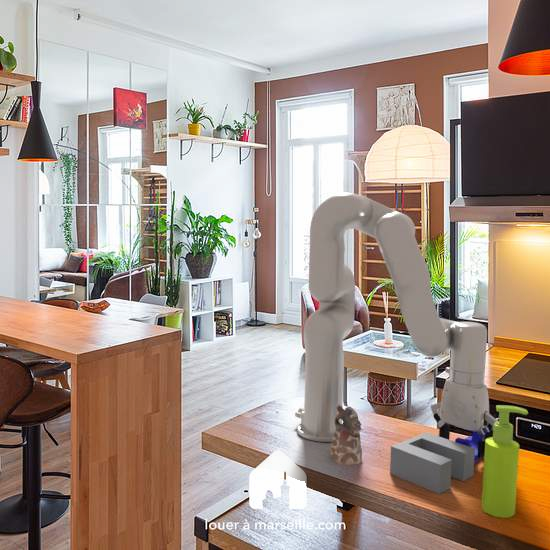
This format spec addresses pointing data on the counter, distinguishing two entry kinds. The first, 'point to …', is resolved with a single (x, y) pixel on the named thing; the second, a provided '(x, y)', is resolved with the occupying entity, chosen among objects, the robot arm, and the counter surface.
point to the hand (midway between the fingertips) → (462, 449)
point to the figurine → (346, 438)
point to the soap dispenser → (501, 466)
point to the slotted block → (432, 461)
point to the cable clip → (471, 443)
